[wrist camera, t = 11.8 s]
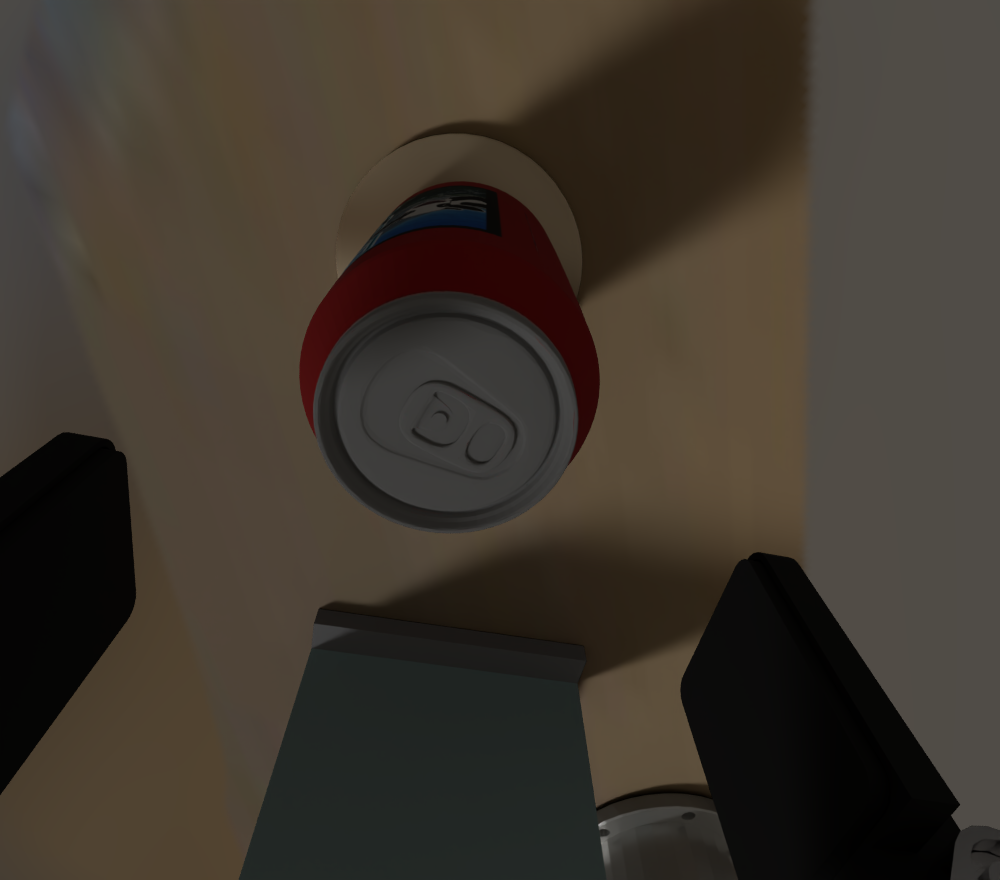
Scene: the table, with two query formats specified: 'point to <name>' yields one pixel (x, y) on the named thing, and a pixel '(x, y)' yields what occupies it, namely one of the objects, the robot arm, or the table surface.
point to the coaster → (451, 163)
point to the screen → (430, 760)
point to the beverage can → (451, 364)
